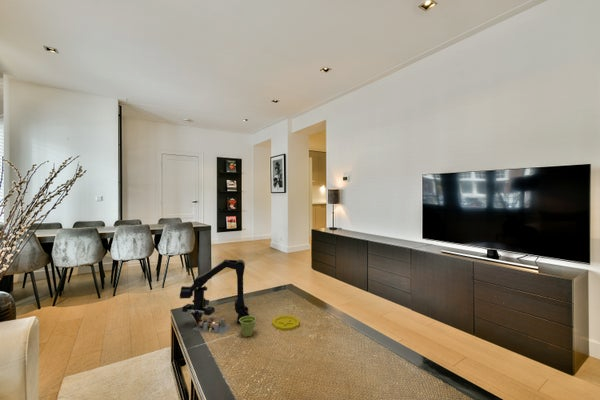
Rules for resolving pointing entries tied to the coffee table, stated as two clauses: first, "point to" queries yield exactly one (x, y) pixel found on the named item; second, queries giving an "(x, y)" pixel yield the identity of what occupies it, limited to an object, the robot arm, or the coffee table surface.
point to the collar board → (221, 330)
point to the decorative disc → (285, 322)
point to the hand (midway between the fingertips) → (198, 323)
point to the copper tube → (210, 323)
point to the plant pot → (247, 325)
